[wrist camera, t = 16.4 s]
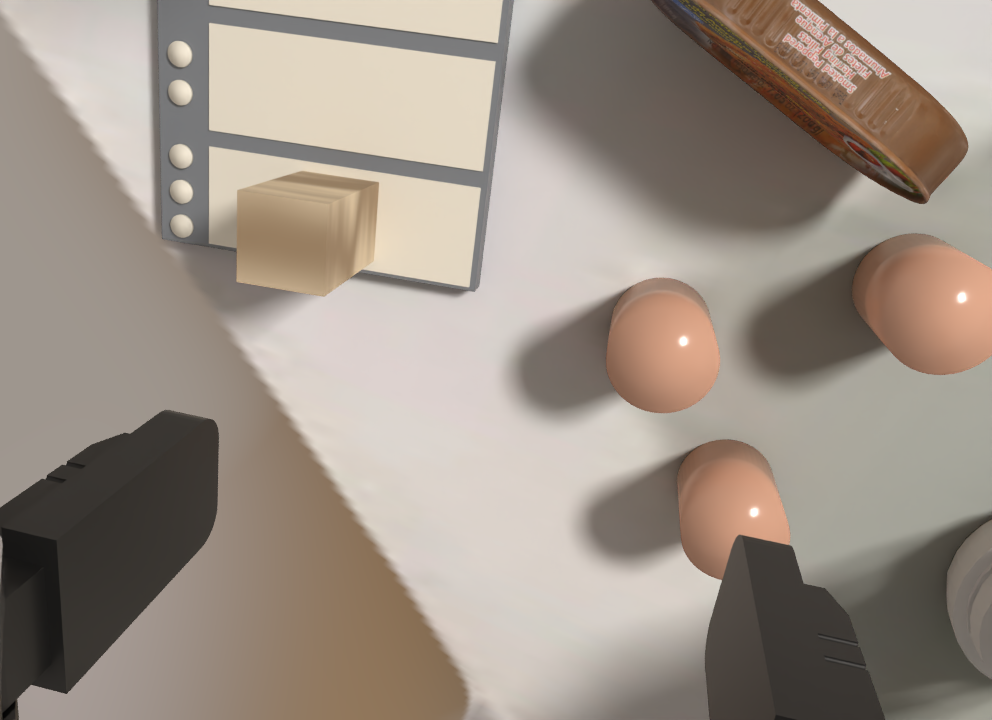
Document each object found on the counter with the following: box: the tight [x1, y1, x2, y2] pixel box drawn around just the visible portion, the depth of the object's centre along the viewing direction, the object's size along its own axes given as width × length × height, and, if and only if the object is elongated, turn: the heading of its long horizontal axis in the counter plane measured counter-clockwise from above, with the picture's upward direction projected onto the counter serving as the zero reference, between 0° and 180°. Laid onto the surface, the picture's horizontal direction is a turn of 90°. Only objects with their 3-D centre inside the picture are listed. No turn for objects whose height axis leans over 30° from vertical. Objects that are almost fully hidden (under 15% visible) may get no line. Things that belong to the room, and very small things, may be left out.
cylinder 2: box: [677, 440, 790, 580], centre depth 42 cm, size 5×5×6 cm
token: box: [236, 171, 379, 297], centre depth 38 cm, size 4×4×7 cm
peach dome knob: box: [606, 278, 720, 413], centre depth 39 cm, size 5×5×6 cm
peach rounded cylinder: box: [852, 233, 992, 375], centre depth 37 cm, size 5×5×6 cm
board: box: [157, 0, 514, 292], centre depth 40 cm, size 17×17×1 cm
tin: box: [651, 0, 968, 204], centre depth 33 cm, size 15×3×8 cm, turn 54°
